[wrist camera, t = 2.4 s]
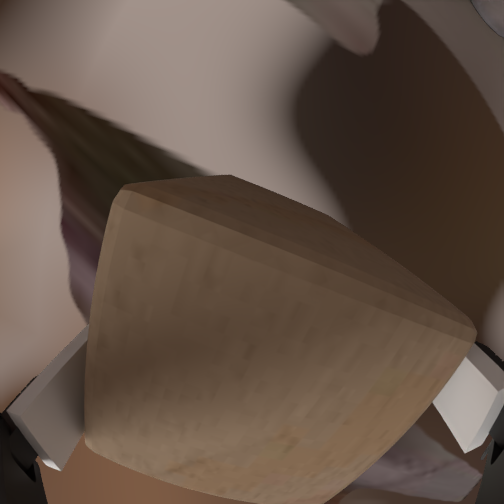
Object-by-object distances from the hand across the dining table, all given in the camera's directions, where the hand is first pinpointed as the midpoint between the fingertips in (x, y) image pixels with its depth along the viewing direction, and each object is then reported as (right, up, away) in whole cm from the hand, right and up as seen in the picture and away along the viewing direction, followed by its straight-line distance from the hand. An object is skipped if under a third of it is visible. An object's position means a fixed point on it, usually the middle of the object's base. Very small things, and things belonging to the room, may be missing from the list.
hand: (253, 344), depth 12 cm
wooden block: (0, +4, +15) cm, 15 cm away
